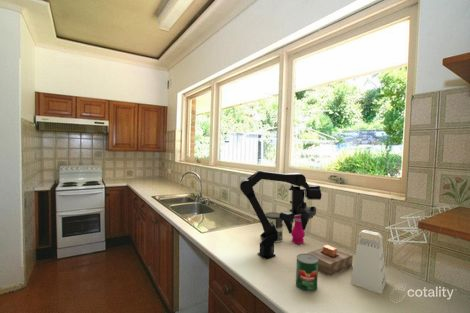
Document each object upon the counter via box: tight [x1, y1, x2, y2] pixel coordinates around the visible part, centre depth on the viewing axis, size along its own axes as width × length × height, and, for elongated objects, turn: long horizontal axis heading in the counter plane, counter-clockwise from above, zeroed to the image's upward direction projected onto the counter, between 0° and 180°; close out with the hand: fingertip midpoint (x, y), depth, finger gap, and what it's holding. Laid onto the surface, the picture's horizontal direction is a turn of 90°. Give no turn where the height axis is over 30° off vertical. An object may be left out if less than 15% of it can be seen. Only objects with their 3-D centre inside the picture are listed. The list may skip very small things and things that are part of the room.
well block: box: [306, 247, 354, 277], centre depth 110 cm, size 16×12×5 cm
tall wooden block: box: [322, 244, 338, 258], centre depth 110 cm, size 3×5×7 cm, turn 32°
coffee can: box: [265, 211, 284, 243], centre depth 139 cm, size 10×10×14 cm
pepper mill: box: [291, 216, 306, 245], centre depth 135 cm, size 7×7×20 cm
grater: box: [350, 229, 387, 295], centre depth 96 cm, size 10×10×20 cm
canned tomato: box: [295, 253, 319, 293], centre depth 93 cm, size 8×8×11 cm
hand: (297, 231), depth 118 cm, fingers open, 9 cm apart
